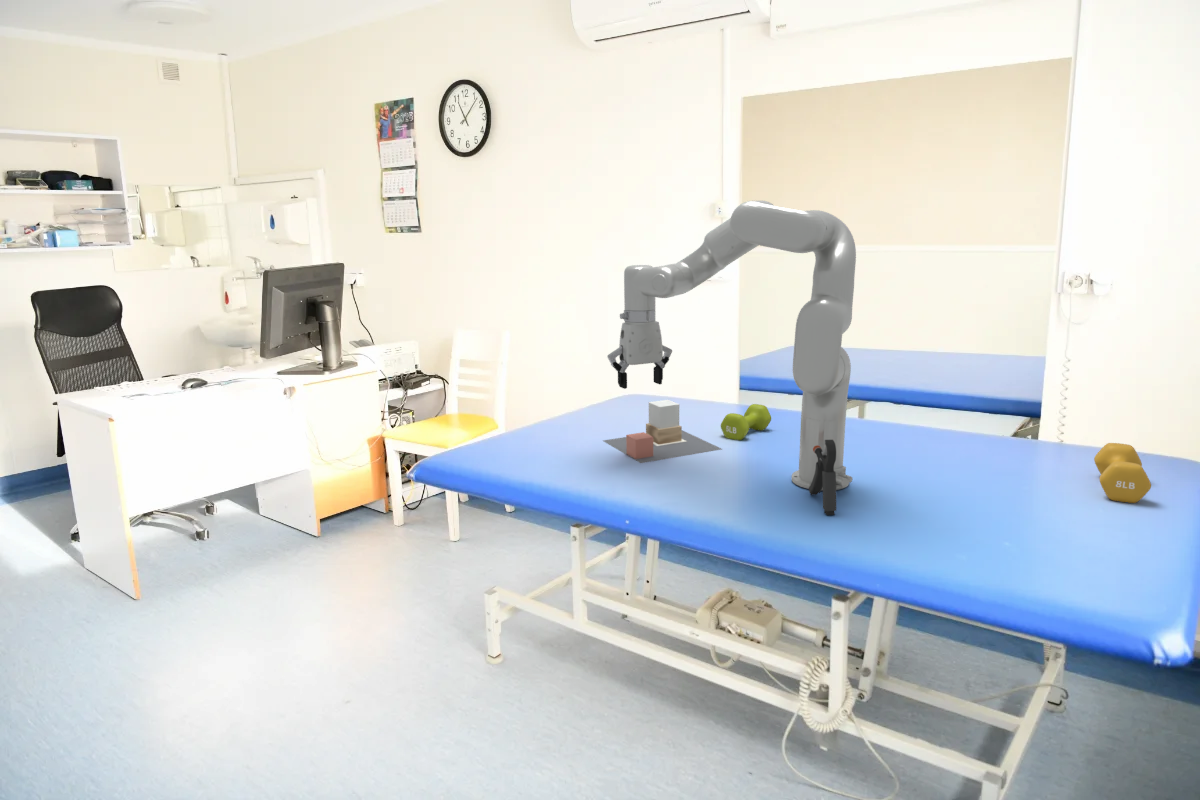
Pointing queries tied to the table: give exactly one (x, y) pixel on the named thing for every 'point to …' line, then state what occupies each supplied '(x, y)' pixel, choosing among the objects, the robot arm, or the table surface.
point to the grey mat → (668, 448)
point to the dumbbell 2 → (1122, 473)
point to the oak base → (664, 434)
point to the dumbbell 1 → (745, 422)
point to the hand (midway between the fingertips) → (640, 385)
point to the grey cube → (663, 414)
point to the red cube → (639, 445)
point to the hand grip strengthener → (825, 476)
